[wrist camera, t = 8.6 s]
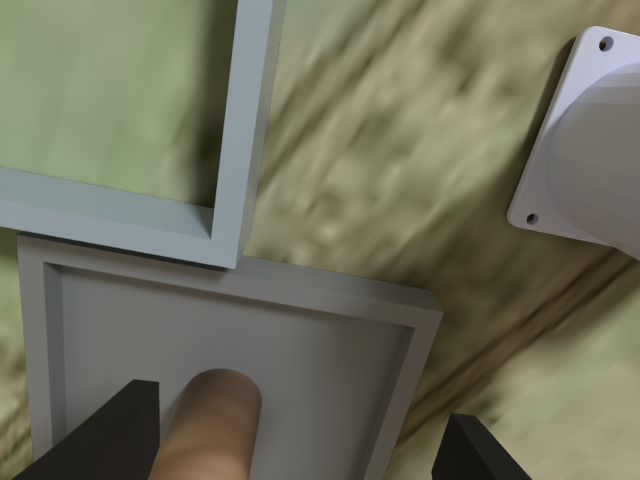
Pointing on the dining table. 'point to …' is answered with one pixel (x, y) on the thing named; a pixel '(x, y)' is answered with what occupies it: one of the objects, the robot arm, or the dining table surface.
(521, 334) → the dining table surface
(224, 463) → the walnut dowel
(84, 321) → the grey tray
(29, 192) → the frame
